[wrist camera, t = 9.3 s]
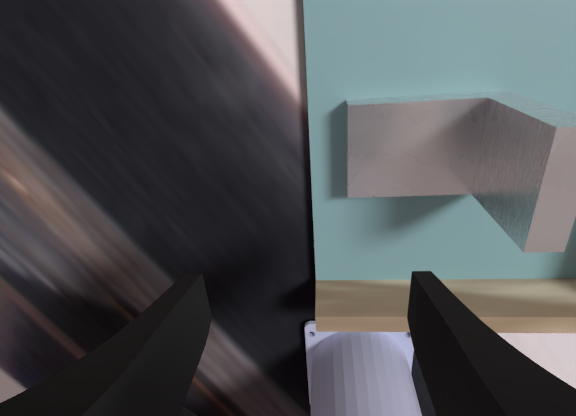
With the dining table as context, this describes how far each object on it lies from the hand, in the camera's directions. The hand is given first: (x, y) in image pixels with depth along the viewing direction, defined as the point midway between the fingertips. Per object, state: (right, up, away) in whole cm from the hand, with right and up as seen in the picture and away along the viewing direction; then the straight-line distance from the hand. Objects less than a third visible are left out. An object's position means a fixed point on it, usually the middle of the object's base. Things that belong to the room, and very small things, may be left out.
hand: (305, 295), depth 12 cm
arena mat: (+9, +6, +8) cm, 13 cm away
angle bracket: (+7, +7, +7) cm, 12 cm away
